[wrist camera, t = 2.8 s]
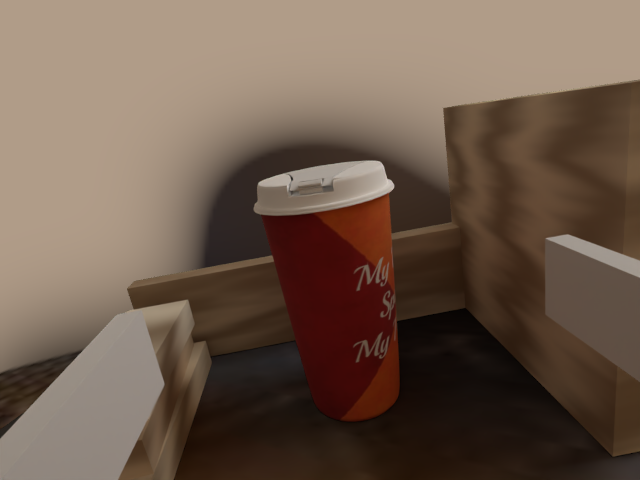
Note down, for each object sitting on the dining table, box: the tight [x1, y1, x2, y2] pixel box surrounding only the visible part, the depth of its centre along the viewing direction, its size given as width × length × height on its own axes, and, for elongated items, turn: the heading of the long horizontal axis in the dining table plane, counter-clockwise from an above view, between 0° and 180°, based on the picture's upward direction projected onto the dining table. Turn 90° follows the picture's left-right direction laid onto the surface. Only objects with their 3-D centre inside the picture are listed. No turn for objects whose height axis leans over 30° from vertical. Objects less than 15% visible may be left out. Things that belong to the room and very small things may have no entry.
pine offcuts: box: [118, 300, 212, 480], centre depth 24 cm, size 14×5×6 cm, turn 4°
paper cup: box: [254, 161, 400, 422], centre depth 23 cm, size 8×8×14 cm
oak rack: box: [127, 80, 640, 457], centre depth 24 cm, size 17×28×16 cm, turn 94°
